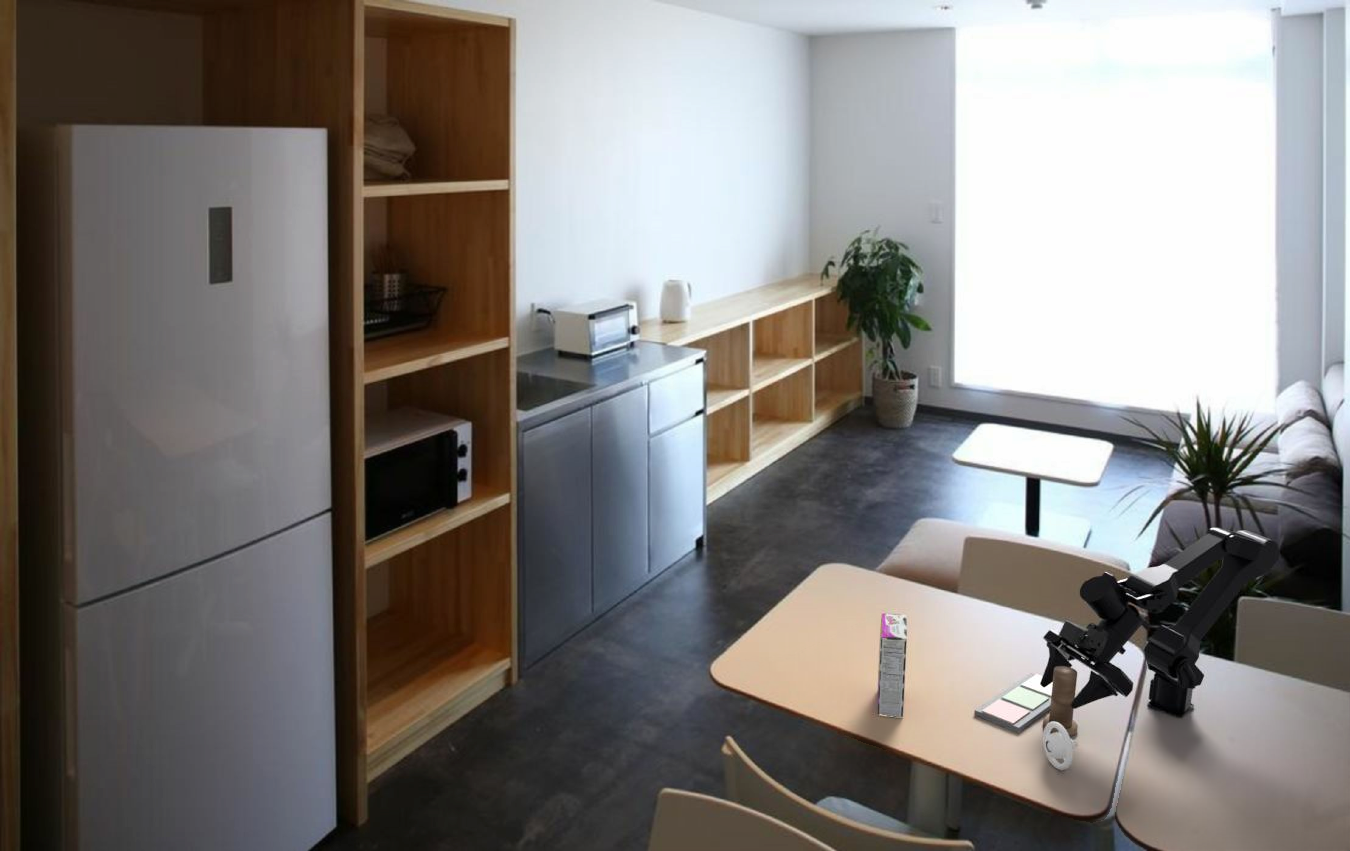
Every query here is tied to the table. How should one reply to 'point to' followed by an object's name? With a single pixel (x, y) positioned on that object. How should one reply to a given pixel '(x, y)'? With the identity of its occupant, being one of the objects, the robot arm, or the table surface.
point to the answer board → (1018, 704)
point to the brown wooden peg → (1063, 699)
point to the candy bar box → (892, 664)
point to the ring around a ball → (1058, 745)
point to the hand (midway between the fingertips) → (1056, 696)
